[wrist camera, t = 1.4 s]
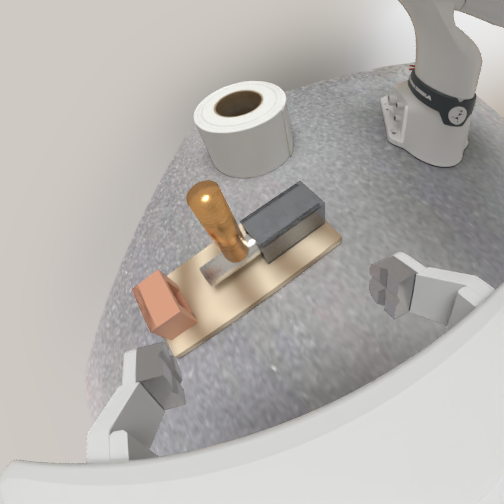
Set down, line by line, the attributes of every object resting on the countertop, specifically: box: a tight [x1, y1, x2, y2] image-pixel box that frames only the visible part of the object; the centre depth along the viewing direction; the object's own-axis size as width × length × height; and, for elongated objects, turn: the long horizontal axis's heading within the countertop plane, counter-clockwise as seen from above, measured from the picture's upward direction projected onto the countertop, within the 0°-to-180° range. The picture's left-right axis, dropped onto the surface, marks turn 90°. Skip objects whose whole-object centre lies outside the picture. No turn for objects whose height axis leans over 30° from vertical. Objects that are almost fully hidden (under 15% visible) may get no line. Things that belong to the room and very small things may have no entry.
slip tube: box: [186, 180, 262, 287], centre depth 31 cm, size 16×3×14 cm, turn 123°
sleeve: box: [240, 181, 325, 265], centre depth 36 cm, size 10×5×5 cm, turn 123°
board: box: [165, 221, 342, 358], centre depth 38 cm, size 27×11×2 cm, turn 123°
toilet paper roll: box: [194, 81, 293, 178], centre depth 45 cm, size 16×15×11 cm
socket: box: [132, 269, 198, 340], centre depth 34 cm, size 4×7×5 cm
